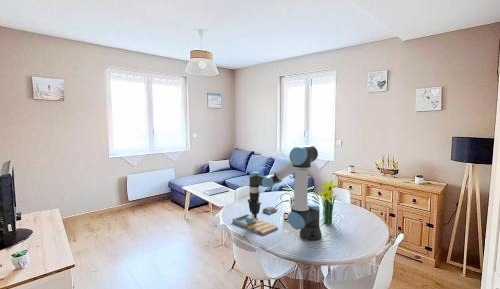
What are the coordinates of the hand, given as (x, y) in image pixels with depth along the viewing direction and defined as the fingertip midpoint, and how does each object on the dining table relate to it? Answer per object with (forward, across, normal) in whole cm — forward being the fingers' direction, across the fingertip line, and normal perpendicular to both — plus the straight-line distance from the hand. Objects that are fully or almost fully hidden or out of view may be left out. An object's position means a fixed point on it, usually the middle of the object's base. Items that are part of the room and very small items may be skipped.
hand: (254, 221), depth 205 cm
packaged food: (+5, +9, -27) cm, 28 cm away
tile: (+1, +4, 0) cm, 4 cm away
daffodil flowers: (+3, -38, -43) cm, 58 cm away
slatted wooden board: (+3, -7, 0) cm, 8 cm away
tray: (+3, +10, 0) cm, 11 cm away
